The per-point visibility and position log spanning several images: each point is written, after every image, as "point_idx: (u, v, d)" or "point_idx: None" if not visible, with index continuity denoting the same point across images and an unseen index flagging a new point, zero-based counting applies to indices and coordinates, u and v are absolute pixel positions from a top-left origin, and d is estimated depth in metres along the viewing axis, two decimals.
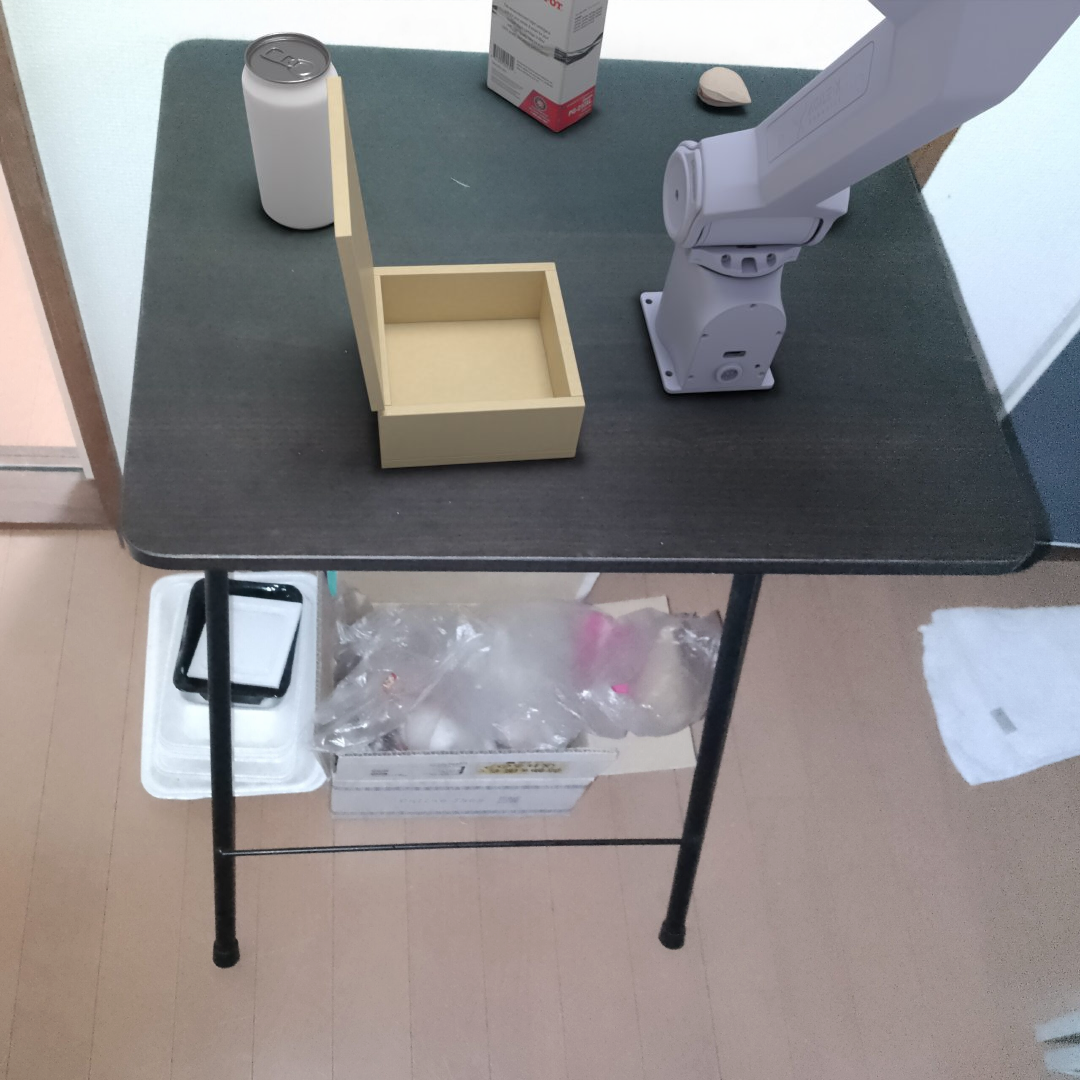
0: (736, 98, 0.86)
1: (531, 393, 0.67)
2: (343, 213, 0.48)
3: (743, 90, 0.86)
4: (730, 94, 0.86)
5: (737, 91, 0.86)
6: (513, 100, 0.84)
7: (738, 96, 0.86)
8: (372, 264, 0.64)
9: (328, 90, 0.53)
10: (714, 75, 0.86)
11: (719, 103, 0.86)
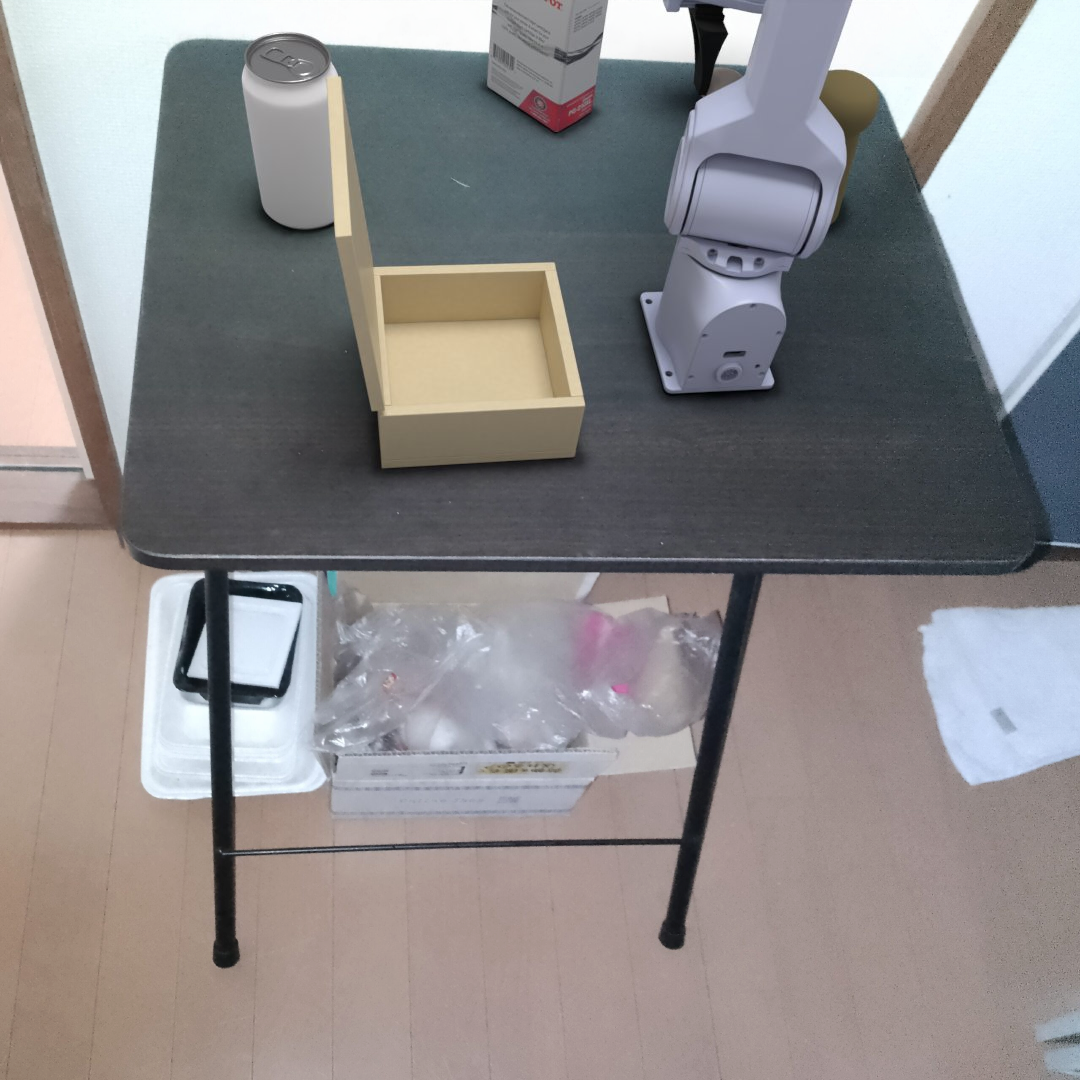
0: None
1: (531, 393, 0.67)
2: (343, 213, 0.48)
3: None
4: None
5: None
6: (513, 100, 0.84)
7: None
8: (372, 264, 0.64)
9: (328, 90, 0.53)
10: (717, 75, 0.86)
11: None
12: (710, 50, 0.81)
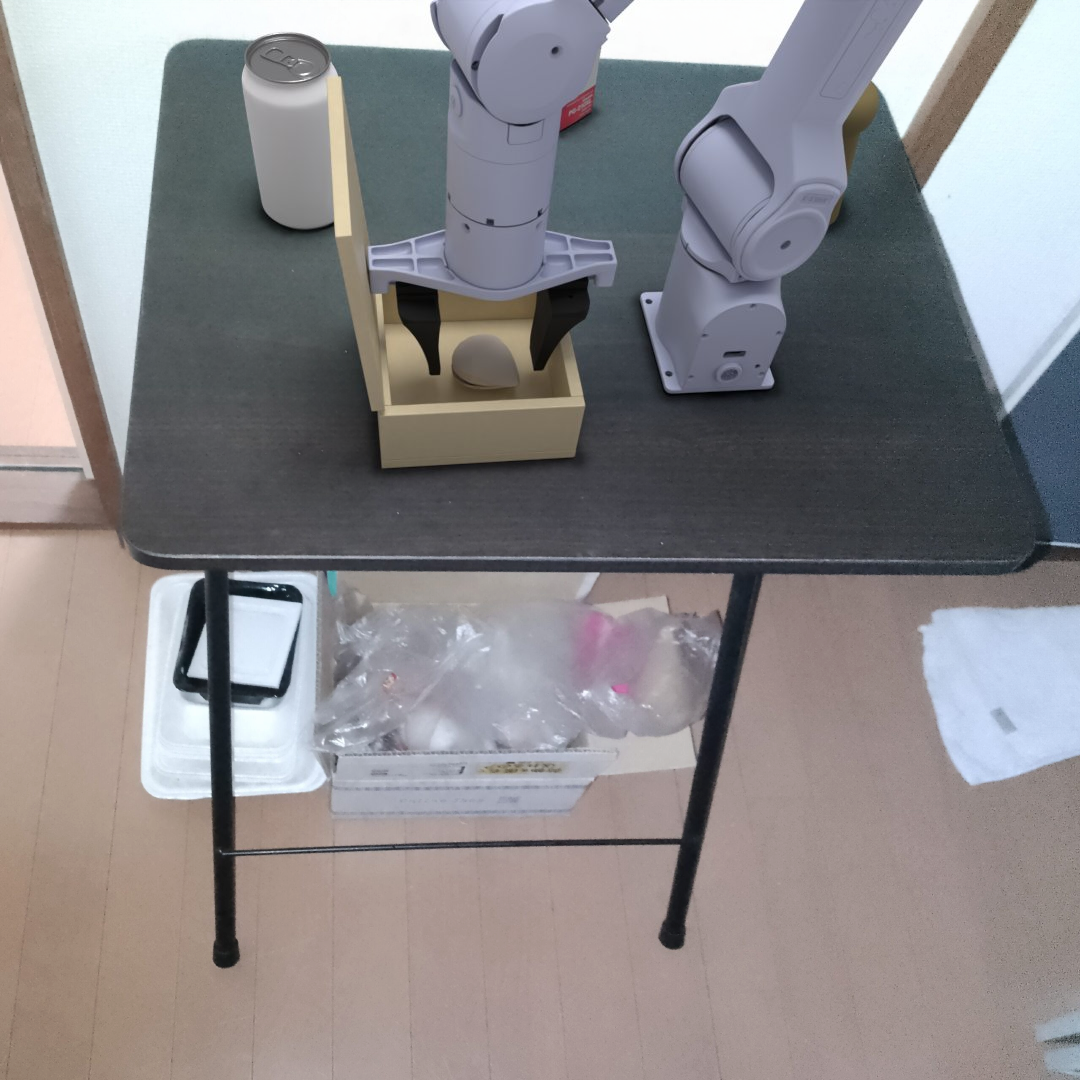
0: (498, 381, 0.65)
1: (531, 393, 0.67)
2: (343, 213, 0.48)
3: (508, 369, 0.65)
4: (489, 377, 0.65)
5: (499, 372, 0.65)
6: None
7: (501, 378, 0.65)
8: None
9: (328, 90, 0.53)
10: (469, 351, 0.65)
11: (477, 386, 0.65)
12: (425, 335, 0.60)
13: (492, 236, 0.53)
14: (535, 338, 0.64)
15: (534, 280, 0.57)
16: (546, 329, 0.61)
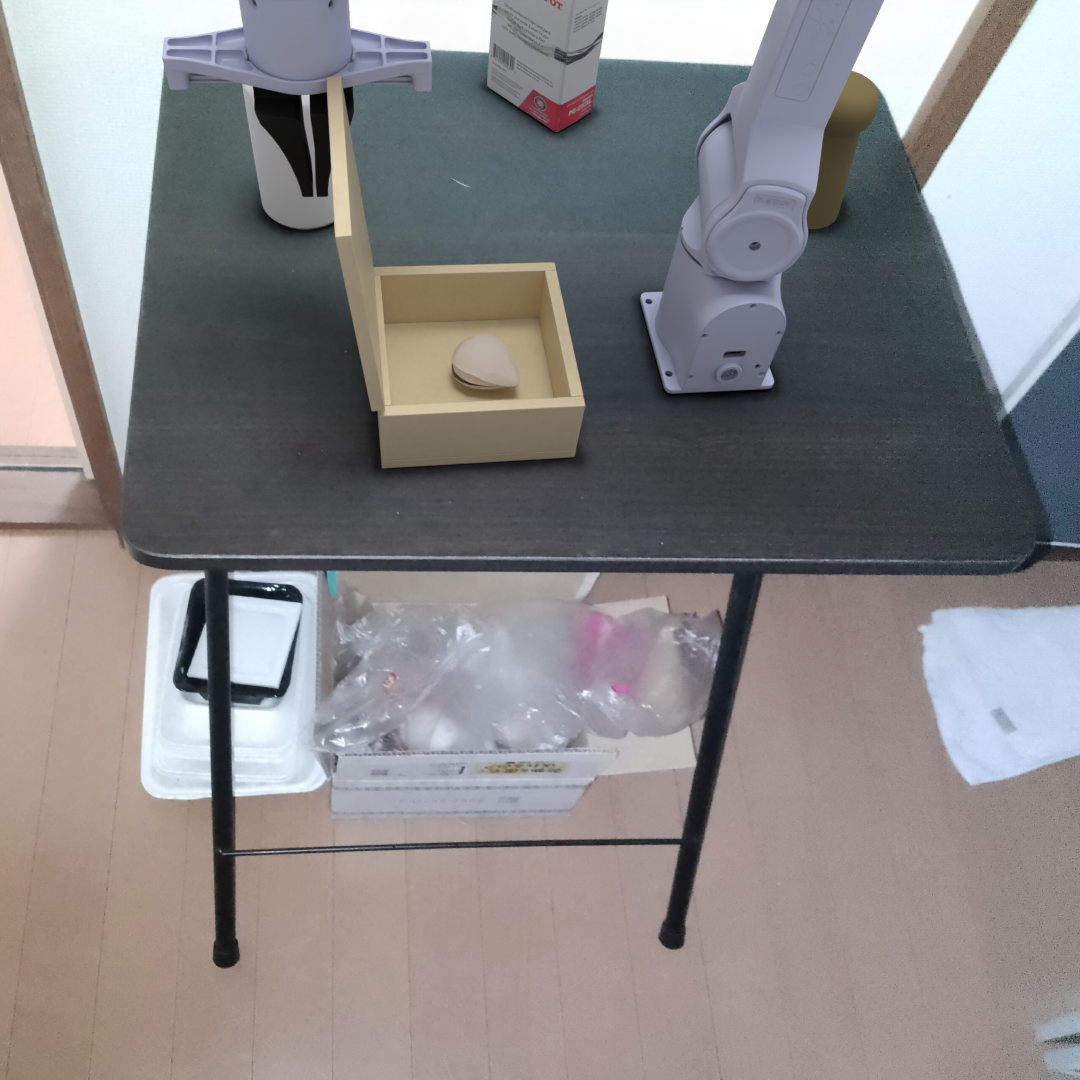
0: (498, 381, 0.65)
1: (531, 393, 0.67)
2: (343, 213, 0.48)
3: (508, 369, 0.65)
4: (490, 377, 0.65)
5: (499, 372, 0.65)
6: (513, 100, 0.84)
7: (501, 378, 0.65)
8: (372, 264, 0.64)
9: (328, 90, 0.53)
10: (469, 351, 0.65)
11: (477, 386, 0.65)
12: (288, 141, 0.57)
13: (279, 11, 0.50)
14: None
15: (339, 73, 0.54)
16: (313, 139, 0.58)
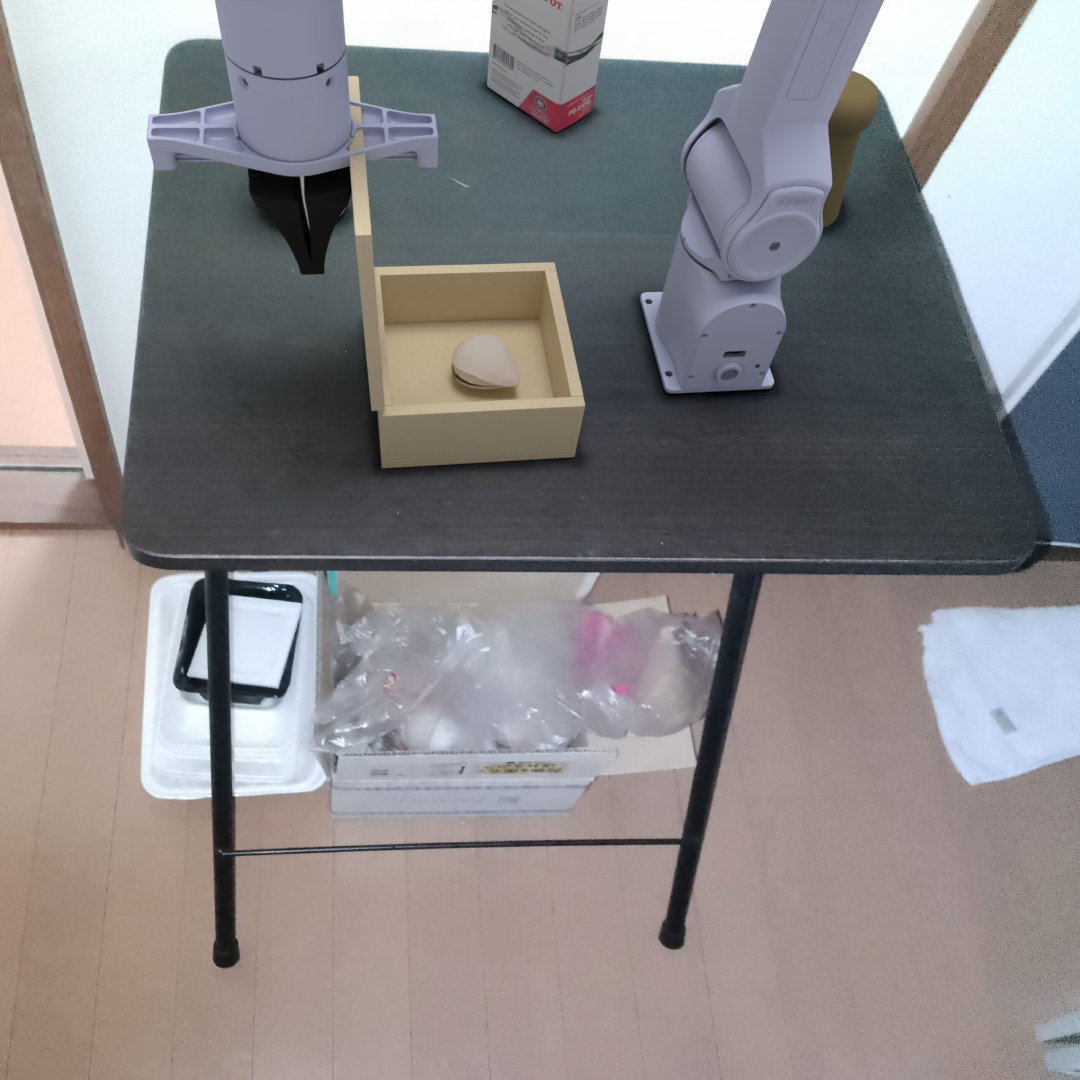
0: (498, 381, 0.65)
1: (531, 393, 0.67)
2: (363, 212, 0.48)
3: (508, 369, 0.65)
4: (490, 377, 0.65)
5: (499, 372, 0.65)
6: (513, 100, 0.84)
7: (501, 378, 0.65)
8: None
9: None
10: (469, 351, 0.65)
11: (477, 386, 0.65)
12: (285, 221, 0.53)
13: (273, 92, 0.46)
14: (310, 235, 0.57)
15: (338, 153, 0.50)
16: (308, 219, 0.54)
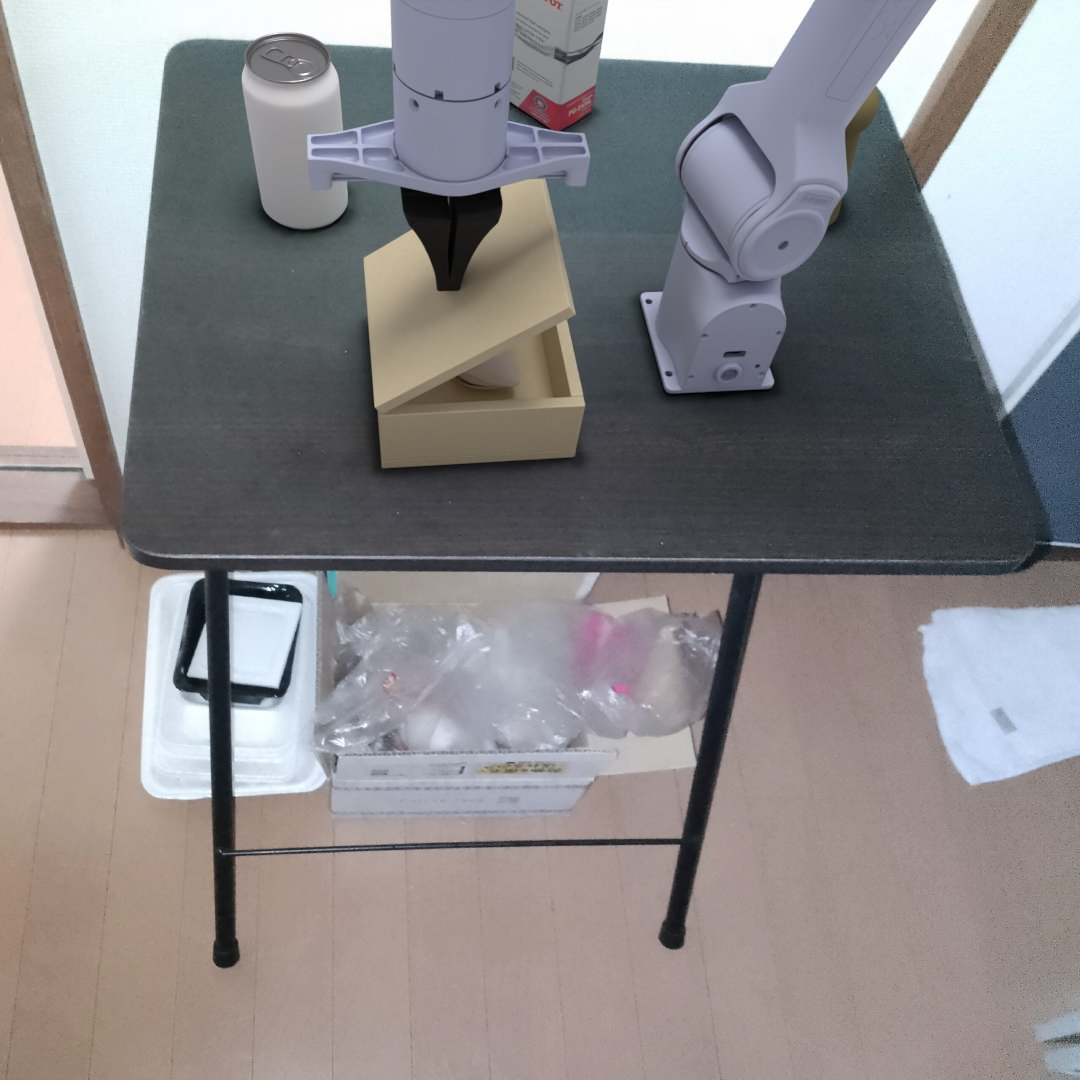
0: (498, 381, 0.65)
1: (531, 393, 0.67)
2: (569, 290, 0.55)
3: (508, 369, 0.65)
4: (490, 377, 0.65)
5: (499, 372, 0.65)
6: (513, 100, 0.84)
7: (501, 378, 0.65)
8: None
9: None
10: None
11: (477, 386, 0.65)
12: (433, 240, 0.54)
13: (444, 114, 0.46)
14: (448, 252, 0.57)
15: (495, 173, 0.50)
16: (455, 237, 0.54)
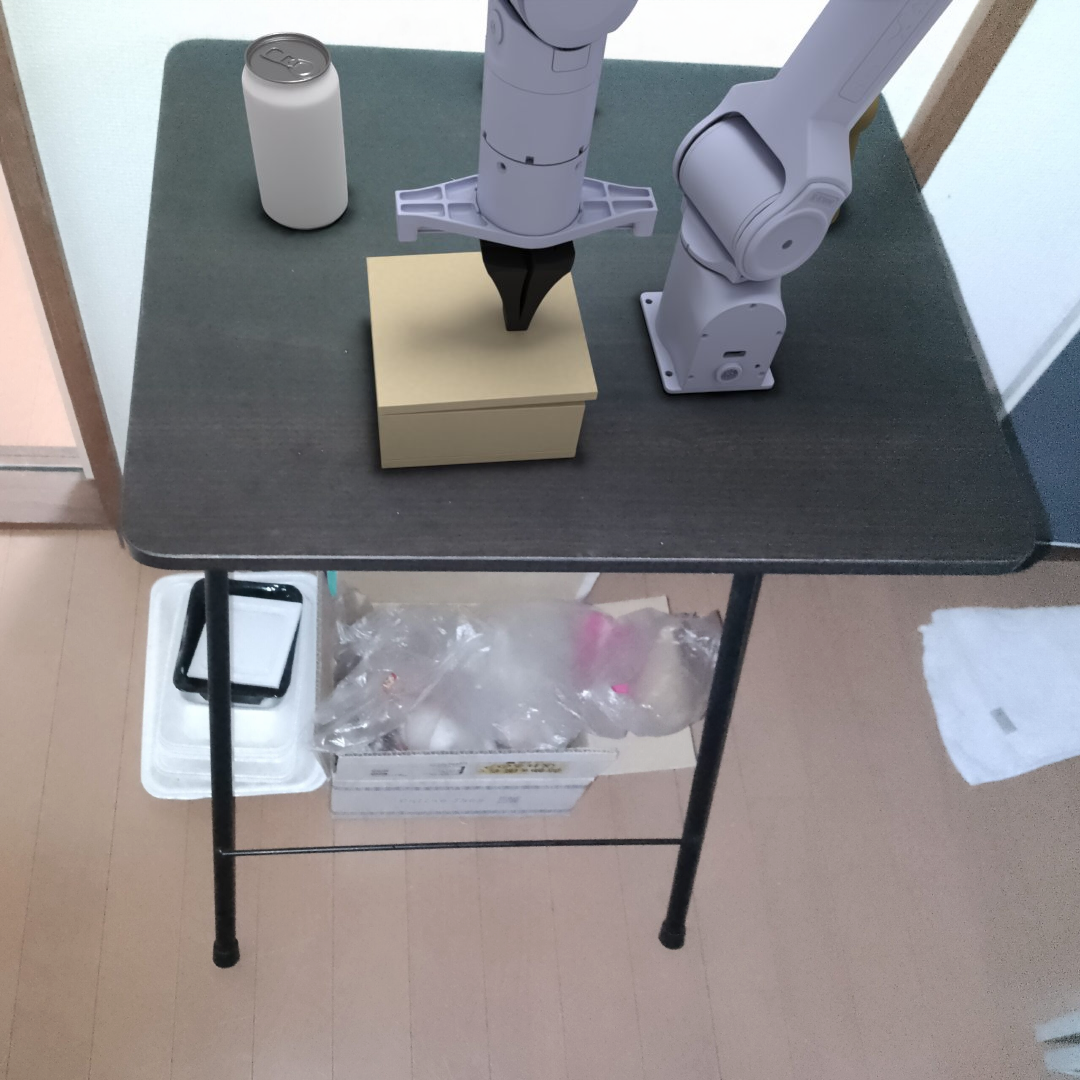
0: None
1: None
2: None
3: None
4: None
5: None
6: None
7: None
8: None
9: None
10: None
11: None
12: (508, 286, 0.57)
13: (530, 176, 0.50)
14: None
15: (571, 226, 0.54)
16: (529, 283, 0.58)
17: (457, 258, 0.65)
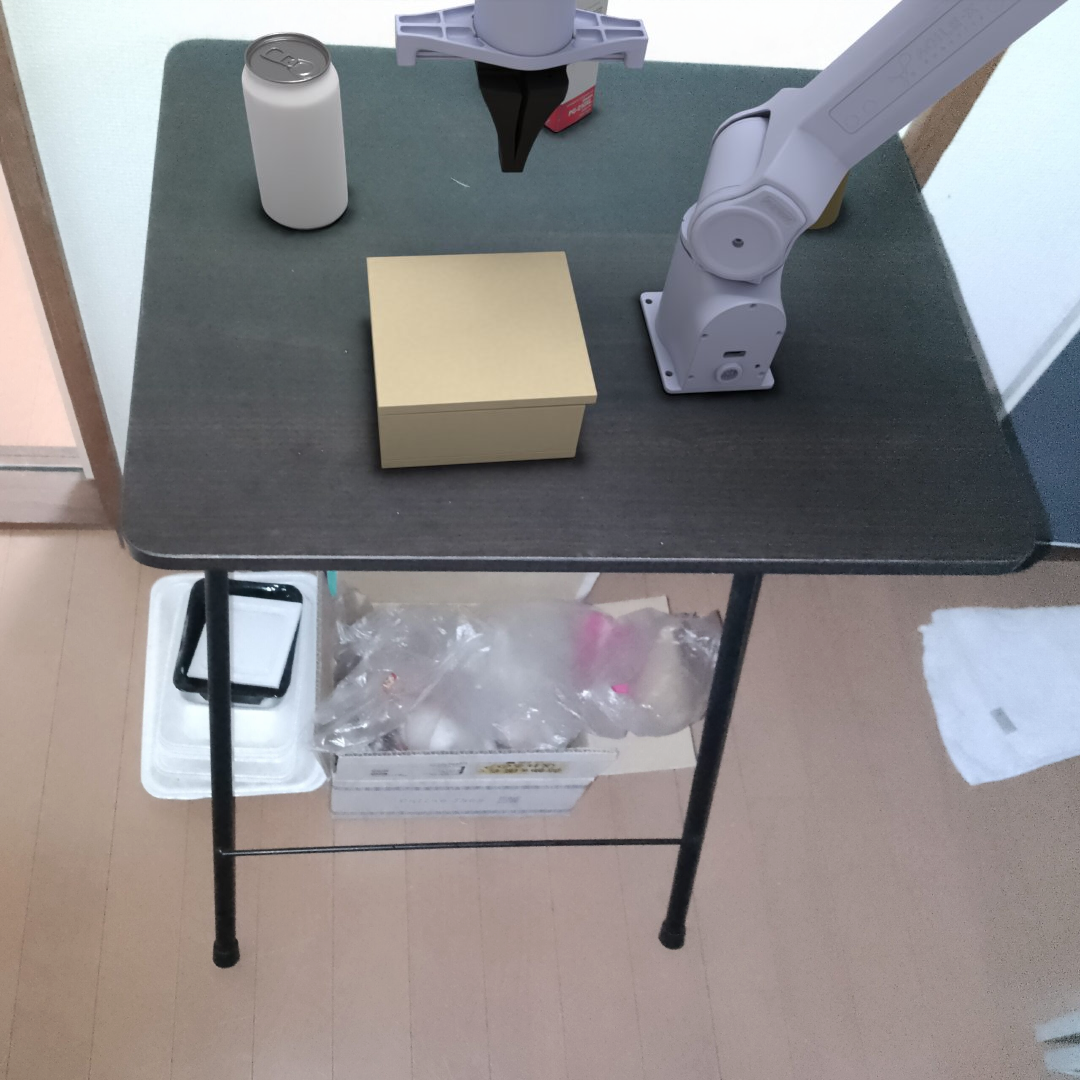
0: None
1: None
2: None
3: None
4: None
5: None
6: None
7: None
8: None
9: (567, 264, 0.66)
10: None
11: None
12: (504, 117, 0.59)
13: None
14: None
15: (565, 49, 0.56)
16: (524, 115, 0.59)
17: (457, 260, 0.65)
